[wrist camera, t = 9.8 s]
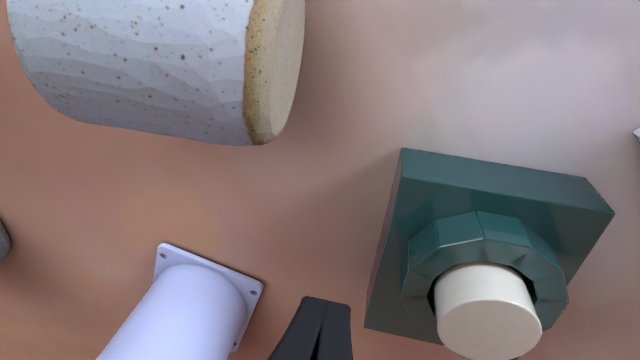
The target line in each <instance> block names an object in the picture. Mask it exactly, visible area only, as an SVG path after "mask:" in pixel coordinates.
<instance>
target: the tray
mask: <svg viewBox="0 0 640 360" xmlns="http://www.w3.org/2000/svg"><path fill="white" fill-rule="evenodd" d="M633 134H634V135H635V137H636V138H637V140H638V141H639V142H640V128H639V129H637V130H635V131H633Z"/></svg>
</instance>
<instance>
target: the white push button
mask: <svg viewBox="0 0 640 360" xmlns="http://www.w3.org/2000/svg"><path fill="white" fill-rule="evenodd" d="M434 303H435V313H436V323H437V332H438V335H439V338H440V340H441V341H442V343H443V344H444V345H445V346H446V347H447V348H448V349H450V350H451V351H452V352H454V353H456V354H458V355H460V356H462V357H465V358H468V359H472V360H510V359H514V358H517V357H519V356H522V355H524V354H526V353H527V352H529V351H530V350H532V349H533V348H534V347H535V346H536V345H537V344H538V342H539V340H540V338H541V334H542V326H541V323H540V320H539V318H538V315H537V312H536V310H535V307H534V305H533V302H532V299H531V297H530V294H529V292H528V289H527V286H526V284H525V282H524V280H523V279H522V277H521V276H520V275H519V274H518V273H516V272H515V271H514V270H512V269H511V268H509V267H507V266H504V265H502V264H498V263H493V262H488V261H476V262H470V263H465V264H459V265H456V266H454V267H452V268H450V269H448V270H447V271H445V272H444V273H443V274H442V275H441V276H440V277H439V278H438V280H437V282H436V284H435V286H434Z"/></svg>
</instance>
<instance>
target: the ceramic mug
mask: <svg viewBox="0 0 640 360" xmlns="http://www.w3.org/2000/svg"><path fill="white" fill-rule="evenodd" d="M7 14H8V23H9V27H10V29H11V31H12V42H13V45H14V49H15V52H16V54H17V56H18V59H19V61H20V63H21V66H22V68H23V70H24V72H25V74H26V76H27V77H28V79H29V80H30V82H31V83H32V85H33V87H34V88H35V90H36V91H37V92H38V93H39V94H40V96H41V97H42V98H43V99H44V100H45V101H46V102H47V103H48V104H49V105H51V106H52V107H53V108H54V109H56V110H57V111H58V112H60V113H62V114H64V115H65V116H67V117H70V118H72V119H75V120H77V121H81V122H85V123H90V124H97V125H104V126H112V127H118V128H124V129H130V130H136V131H142V132H149V133H154V134H160V135H168V136H175V137H182V138H187V139H193V140H198V141H203V142H209V143H215V144H222V145H232V146H253V145H264V144H267V143H269V142H271V141H272V140H274V139H275V138H276V137H277V136H278V135H279V134H280V133H281V131H282V129H283V127H284V126H285V124H286V121H287V119H288V116H289V113H290V110H291V107H292V103H293V99H294V95H295V91H296V86H297V82H298V77H299V71H300V65H301V58H302V50H303V42H304V28H305V0H7Z"/></svg>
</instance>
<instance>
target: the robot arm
mask: <svg viewBox="0 0 640 360" xmlns="http://www.w3.org/2000/svg"><path fill="white" fill-rule="evenodd" d="M262 290H263V284H262V283H261V282H260V281H258V280H255V279H253V278H250V277H248V276H245V275H243V274H241V273H238V272H236V271H233V270H231V269H228V268H226V267H223V266H221V265H218V264H216V263H214V262H211V261H209V260H206V259H204V258H201V257H199V256H196V255H194V254H191V253H189V252H187V251H184V250H182V249H179V248H177V247H174V246H172V245H169V244H167V243H161V244H160V245H159V246H158V248H157V255H156V262H155V269H154V276H153V283H152V286H151V287H150V289H149V290H148V291H147V293H146V294H145V295H144V297H143V298H142V299H141V301H140V302H139V303H138V305H137V306H136V307H135V309H134V310H133V311H132V312H131V314H130V315H129V316H128V318H127V319H126V320H125V322H124V323H123V324H122V326H121V327H120V328H119V330H118V331H117V332H116V334H115V335H114V336H113V337H112V339H111V340H110V341H109V343H108V344H107V345H106V347H105V348H104V349H103V351H102V352H101V353H100V355H99V356H98V357H97V359H96V360H227V358H228V356H229V354H230V352H232V353H234V352H236V351H237V349H238V347H239V344H240V342H241V340H242V337H243V335H244V332H245V330H246V328H247V325H248V323H249V321H250V318H251V316H252V314H253V311H254V309H255V306H256V304H257V302H258V299H259V297H260V295H261V292H262ZM350 313H351V308H350V307H349V306H348V305H346V304H341V303H337V302H332V301H328V300H323V299H318V298H314V297H309V296H306V297H303V298H302V300H301V303H300V305H299V307H298V309H297V311H296V313H295V315H294V317H293V319H292V321H291V323H290V325H289V326H288V328H287V330H286V331H285V333H284V335H283V336H282V338H281V340H280V341H279V343H278V344H277V346H276V347H275V349H274V350H273V352H272V353H271V355H270V357H269V358H268V360H353V354H352V344H351V329H350Z"/></svg>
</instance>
